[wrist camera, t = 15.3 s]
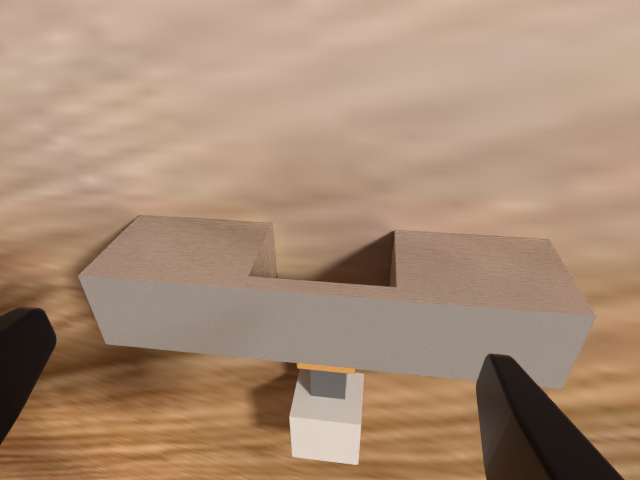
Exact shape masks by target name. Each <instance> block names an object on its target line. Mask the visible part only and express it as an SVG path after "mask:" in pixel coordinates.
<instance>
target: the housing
mask: <svg viewBox="0 0 640 480" xmlns="http://www.w3.org/2000/svg"><path fill="white" fill-rule="evenodd" d="M78 277H79V280H80V282H81V285H82V287H83V289H84V292H85V294H86V297H87V299H88V302H89V304H90V307H91V309H92V311H93V314H94V316H95V319H96V321H97V324H98V326H99V328H100V331H101V333H102V336H103V338H104V341H105V343H106V344H109V345H119V346H130V347H140V348H150V349H160V350H170V351H180V352H190V353H201V354H211V355H221V356H231V357H241V358H251V359H261V360H272V361H282V362H292V363H302V364H312V365H322V366H332V367H343V368H353V369H363V370H373V371H383V372H393V373H403V374H414V375H424V376H434V377H444V378H454V379H464V380H475V381H477V379H478V376H479V374H480V371H481V368H482V365H483V362H484V360H485V357H486V356H487V355H488V354H490V353H494V354H504V355H509V356H511V357H512V358H514V359H515V361H516V362H517V363H518V364H519V365H520V366H521V367H522V368H523V369H524V370H525V371H526V373H527V374H528V375H529V376H530V377H531V378H532V379H533V380H534V381H535V382H536V384H537V385H538V386H539V387H546V388H556V389H562V388H563V386H564V384H565V382H566V380H567V378H568V375H569V373H570V371H571V369H572V367H573V365H574V363H575V361H576V358H577V356H578V354H579V352H580V350H581V348H582V346H583V344H584V342H585V339H586V337H587V335H588V333H589V331H590V329H591V327H592V325H593V322H594V320H595V318H596V315H595V313H594V312H593V310H592V309H591V307H590V305H589V304H588V302H587V300H586V299H585V297H584V296H583V294H582V292H581V291H580V289H579V287H578V286H577V284H576V283H575V281H574V279H573V278H572V276H571V274H570V273H569V271H568V270H567V268H566V266H565V265H564V263H563V261H562V260H561V258H560V257H559V255H558V253H557V252H556V250H555V248H554V247H553V245H552V244H551V242H550V240H546V239H529V238H512V237H495V236H478V235H461V234H444V233H427V232H410V231H395V232H394V242H393V252H392V262H391V272H390V281H389V287H385V286H372V285H359V284H345V283H332V282H319V281H305V280H292V279H279V278H277V276H276V264H275V252H274V240H273V228H272V223H258V222H241V221H224V220H207V219H190V218H173V217H157V216H140V215H139V216H138V217H137V218H136V219H135V220H134V221H133V222H132V223H131V224H130V225H129V226H128V227H127V228H126V229H125V230H124V231H123V232H122V233H121V234H120V235H119V236H118V237H117V238H116V239H115V240H114V241H113V242H112V243H111V244H110V245H109V246H108V247H107V248H106V249H105V250H104V251H102V252H101V253H100V254H99V255H98V256H97V257H96V258H95V259H94V260H93V261H92V262H91V263H90V264H89V265H88V266H87V267H86V268H85V269H84V270H83V271H82V272H81V273H80V274H79V275H78Z"/></svg>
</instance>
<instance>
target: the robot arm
mask: <svg viewBox="0 0 640 480" xmlns="http://www.w3.org/2000/svg"><path fill="white" fill-rule="evenodd" d="M55 345H56V334H55V332H54V330H53V327H52V325H51V323H50V321H49V319H48V317H47V315H46V313H45V311H44V310H42V309H40V308H34V307H19V308H16V309H14V310H12V311H10V312H8V313H6V314H4V315H2V316H0V445H1V443H2V442H3V440H4V439H5V437H6V435H7V434H8V432H9V431H10V429H11V428H12V426H13V424H14V423H15V421H16V420H17V418H18V416H19V415H20V413H21V411H22V409H23V407H24V406H25V404H26V402H27V400H28V398H29V396H30V394H31V392H32V390H33V388H34V386H35V384H36V383H37V381H38V379H39V377H40V375H41V373H42V371H43V369H44V367H45V365H46V363H47V361H48V359H49V357H50V356H51V354H52V352H53V350H54V348H55ZM476 395H477V404H478V413H479V423H480V432H481V441H482V450H483V459H484V467H485V474H486V479H487V480H624V479H623V477H622V476H621V475H620V474H619V473H618V472H617V471H616V470H615V469H614V468H613V467H612V465H611V464H610V463H609V462H608V461H607V460H606V459H605V458H604V457H603V456H602V455H601V453H600V452H599V451H598V450H597V449H596V448H595V447H594V446H593V445H592V444H591V442H590V441H589V440H588V439H587V438H586V437H585V436H584V435H583V434H582V433H581V432H580V430H579V429H578V428H577V427H576V426H575V425H574V424H573V423H572V422H571V421H570V420H569V418H568V417H567V416H566V415H565V414H564V413H563V412H562V411H561V410H560V409H559V408H558V406H557V405H556V404H555V403H554V402H553V401H552V400H551V399H550V398H549V397H548V396H547V394H546V393H545V392H544V391H543V390H542V389H541V388H540V387H539V386H538V385H537V384H536V382H535V381H534V380H533V379H532V378H531V377H530V376H529V375H528V374H527V373H526V371H525V370H524V369H523V368H522V367H521V366H520V365H519V364H518V363H517V362H516V361H515V359H514V358H512V357H511V356H509V355H504V354H494V353H490V354H488V355H487V356H486V357H485V360H484V362H483V365H482V368H481V371H480V374H479V376H478V379H477V384H476Z"/></svg>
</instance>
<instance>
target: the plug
mask: <svg viewBox="0 0 640 480" xmlns="http://www.w3.org/2000/svg"><path fill="white" fill-rule="evenodd" d="M297 368H300V370H299V374H298V379H297V384H296V388H295V393H294V397H293V402H292V407H291V411H290V416H289V419H290V432H291V444H292V457H299V458H307V459H315V460H323V461H330V462H338V463H346V464H354V465H358V459H359V446H360V432H361V417H362V399H363V381H364V373H355V369H353V368H343V367H332V366H322V365H312V364H302V363H297Z"/></svg>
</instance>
